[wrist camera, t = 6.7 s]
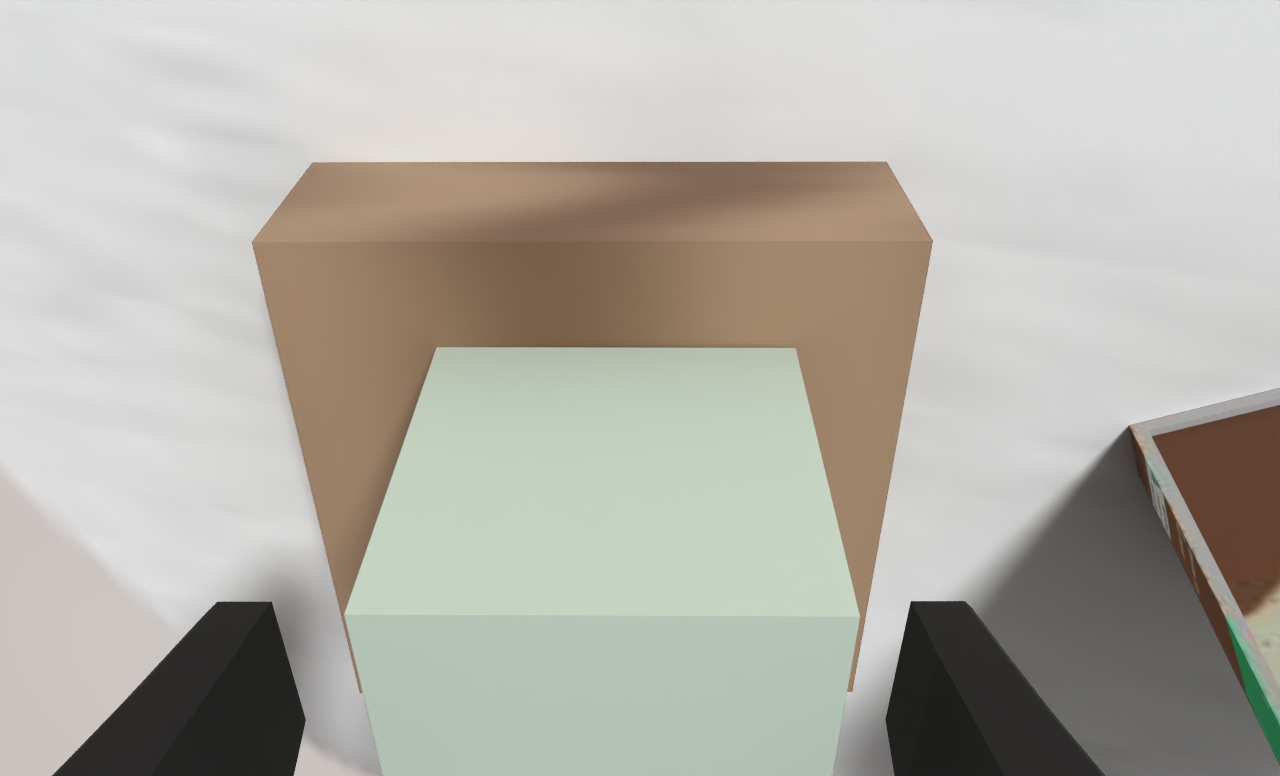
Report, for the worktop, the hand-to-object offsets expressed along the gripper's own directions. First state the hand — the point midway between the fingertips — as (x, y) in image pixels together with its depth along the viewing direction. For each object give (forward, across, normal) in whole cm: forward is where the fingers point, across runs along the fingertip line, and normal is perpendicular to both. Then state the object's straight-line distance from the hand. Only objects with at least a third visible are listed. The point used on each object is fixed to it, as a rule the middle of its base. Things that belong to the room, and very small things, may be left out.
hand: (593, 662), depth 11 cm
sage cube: (+3, 0, 0) cm, 3 cm away
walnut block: (+6, 0, 0) cm, 6 cm away
